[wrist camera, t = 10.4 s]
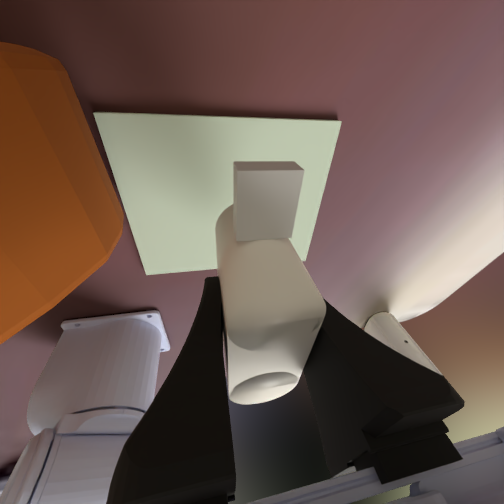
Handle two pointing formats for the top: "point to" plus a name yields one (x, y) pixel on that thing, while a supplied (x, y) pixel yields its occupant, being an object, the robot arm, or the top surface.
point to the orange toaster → (47, 190)
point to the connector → (264, 283)
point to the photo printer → (397, 338)
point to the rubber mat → (205, 177)
